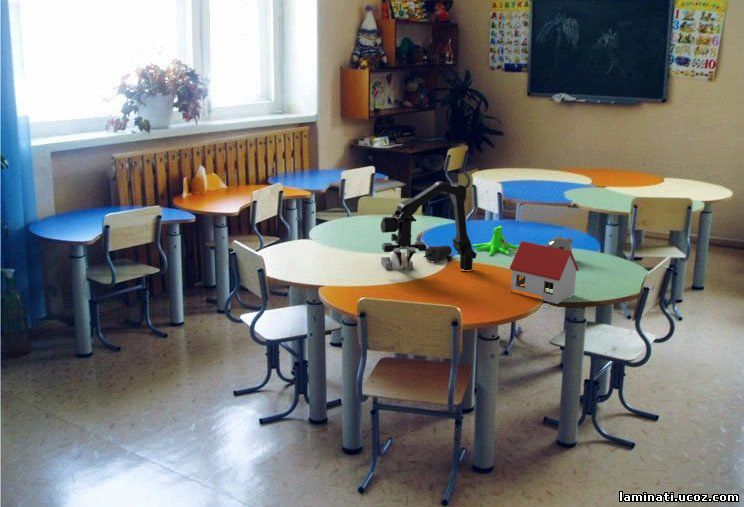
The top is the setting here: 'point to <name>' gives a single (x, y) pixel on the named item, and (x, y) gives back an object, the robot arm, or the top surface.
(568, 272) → the house model
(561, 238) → the piggy bank
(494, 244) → the toy octopus
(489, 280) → the top surface
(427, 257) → the drinking cup
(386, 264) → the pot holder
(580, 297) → the top surface
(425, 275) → the top surface
